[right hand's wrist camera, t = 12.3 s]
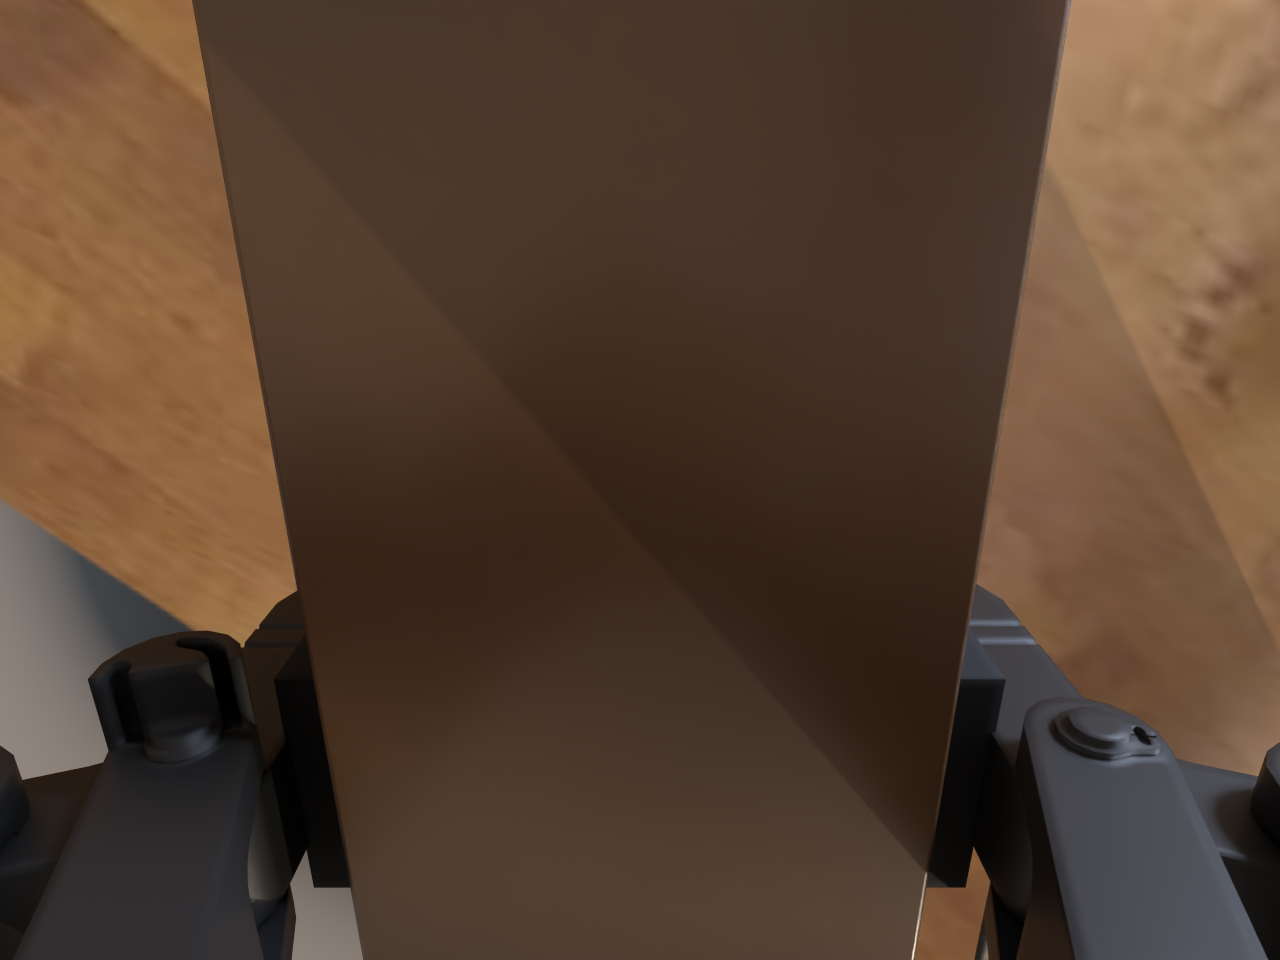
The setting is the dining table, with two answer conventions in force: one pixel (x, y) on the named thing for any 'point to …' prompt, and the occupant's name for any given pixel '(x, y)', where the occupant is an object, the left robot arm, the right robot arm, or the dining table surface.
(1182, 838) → the right robot arm
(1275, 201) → the dining table surface
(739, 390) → the bar
